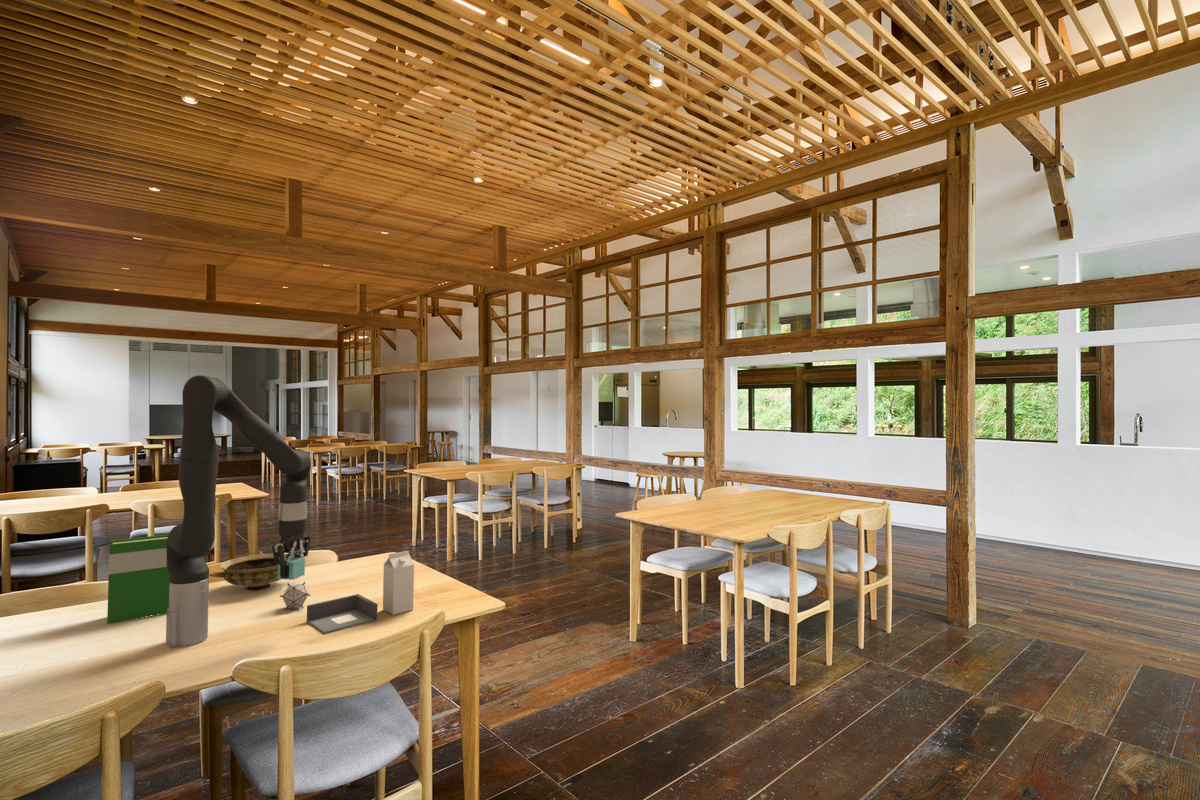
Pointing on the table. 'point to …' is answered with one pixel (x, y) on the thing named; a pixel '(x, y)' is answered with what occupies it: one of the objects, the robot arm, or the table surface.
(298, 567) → the cube
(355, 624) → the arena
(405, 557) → the milk carton
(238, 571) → the ceramic bowl
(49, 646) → the table surface
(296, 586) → the game die
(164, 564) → the hardback book
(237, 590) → the table surface
